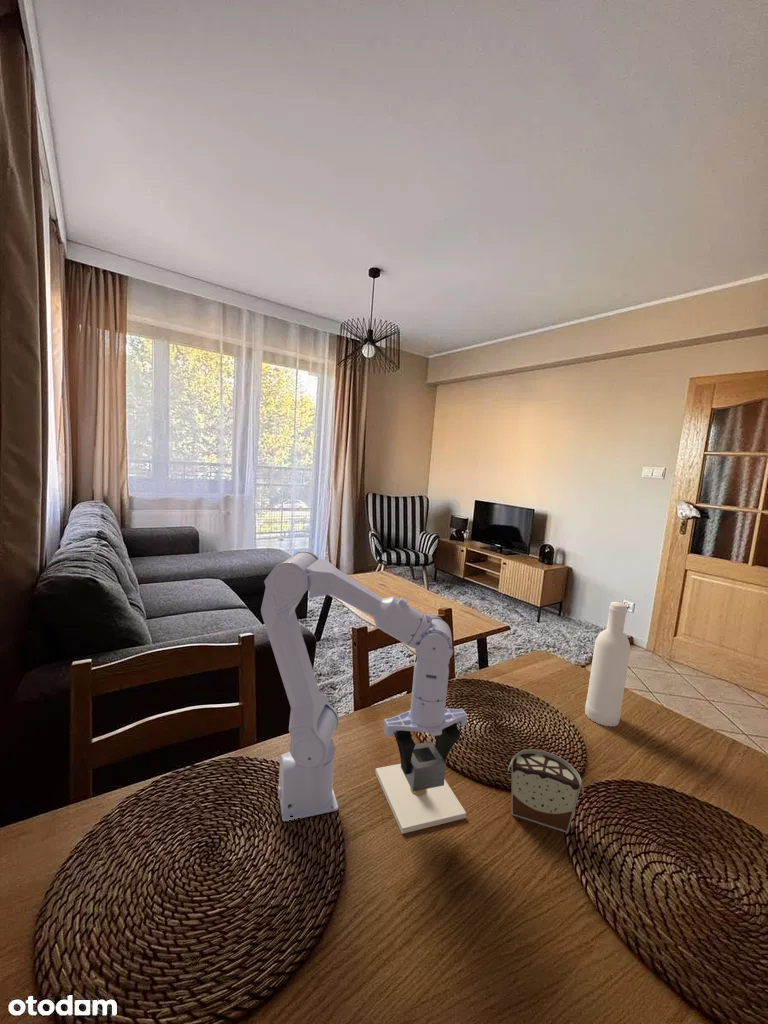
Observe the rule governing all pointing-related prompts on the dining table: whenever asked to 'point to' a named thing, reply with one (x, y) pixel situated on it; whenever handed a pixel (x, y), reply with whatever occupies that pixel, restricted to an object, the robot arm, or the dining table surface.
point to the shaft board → (417, 801)
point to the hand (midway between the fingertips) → (422, 767)
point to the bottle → (609, 670)
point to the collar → (426, 767)
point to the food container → (544, 788)
